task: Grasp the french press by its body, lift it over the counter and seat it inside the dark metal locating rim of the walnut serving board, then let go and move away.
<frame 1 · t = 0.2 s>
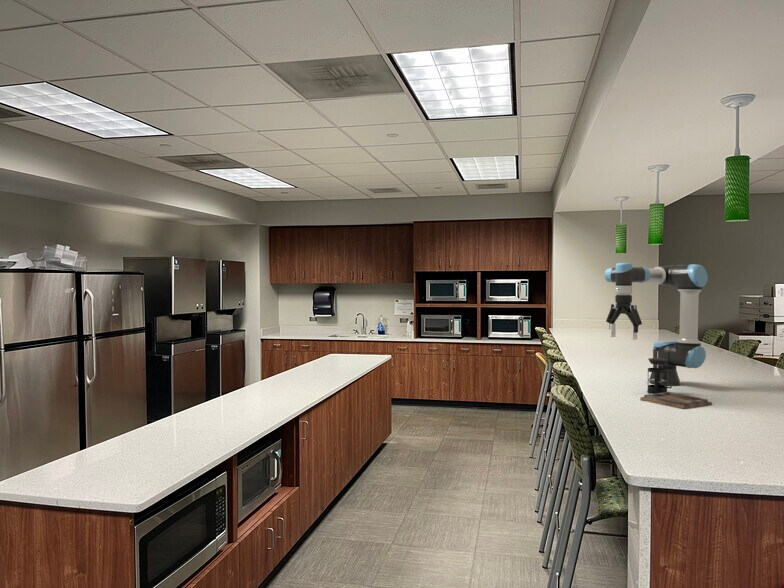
hand: (623, 338, 281), 28 cm above the countertop, fingers open, 13 cm apart
serving board: (675, 402, 265), on the countertop
french press: (658, 393, 288), on the countertop
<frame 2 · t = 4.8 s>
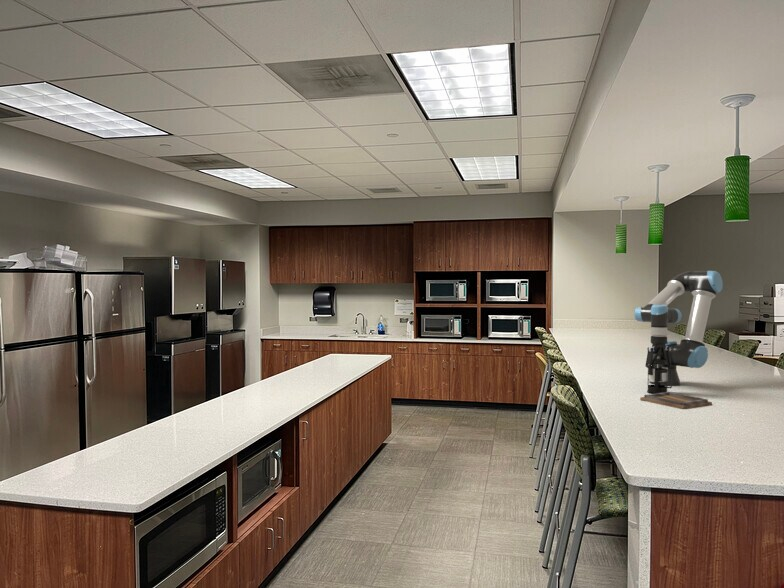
hand: (658, 380, 288), 6 cm above the countertop, fingers closed on french press, 9 cm apart
french press: (658, 393, 288), on the countertop, touching gripper
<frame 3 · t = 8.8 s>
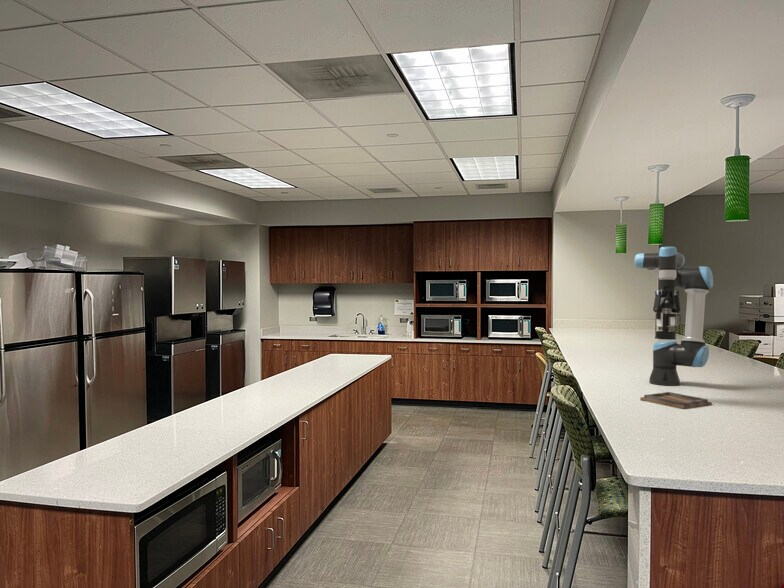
hand: (666, 326, 276), 34 cm above the countertop, fingers closed on french press, 9 cm apart
french press: (666, 339, 276), point 28 cm above the countertop, touching gripper
when the fingers open (8 cm above the countertop, at t = 13.2 s): french press drops 1 cm, resting on serving board.
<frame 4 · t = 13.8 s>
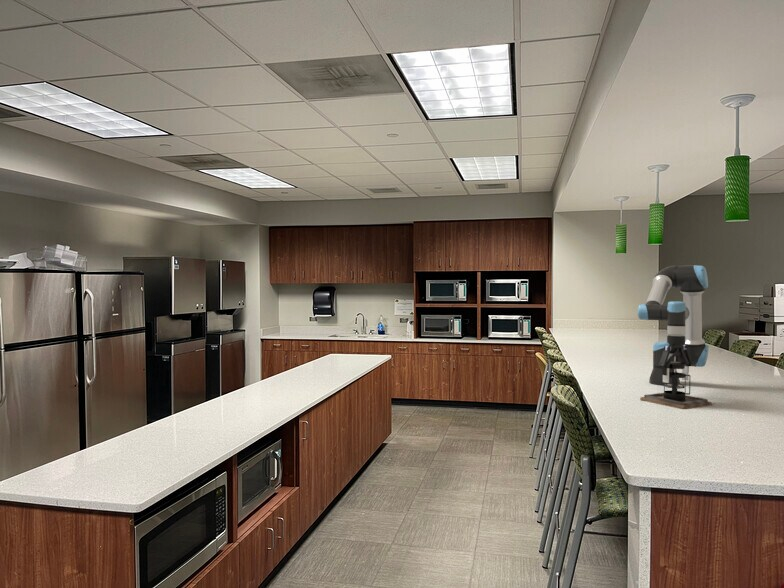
hand: (675, 381, 265), 10 cm above the countertop, fingers open, 13 cm apart
french press: (675, 400, 265), point 1 cm above the countertop, touching serving board
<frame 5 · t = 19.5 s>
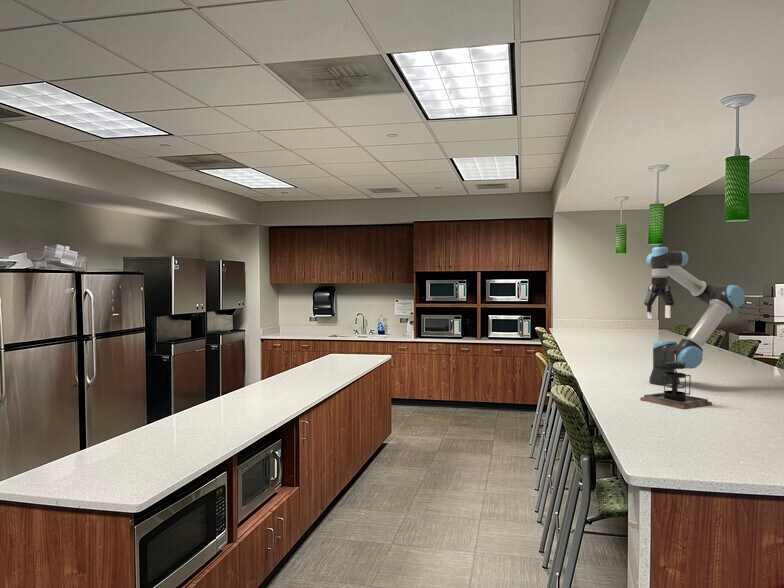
hand: (659, 318, 298), 37 cm above the countertop, fingers open, 13 cm apart
nothing on the countertop moved.
at the end: french press inside the target area on the serving board (0.3 cm from its centre), point 1.0 cm above the serving board's base; french press touching serving board; french press tilted 0° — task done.
